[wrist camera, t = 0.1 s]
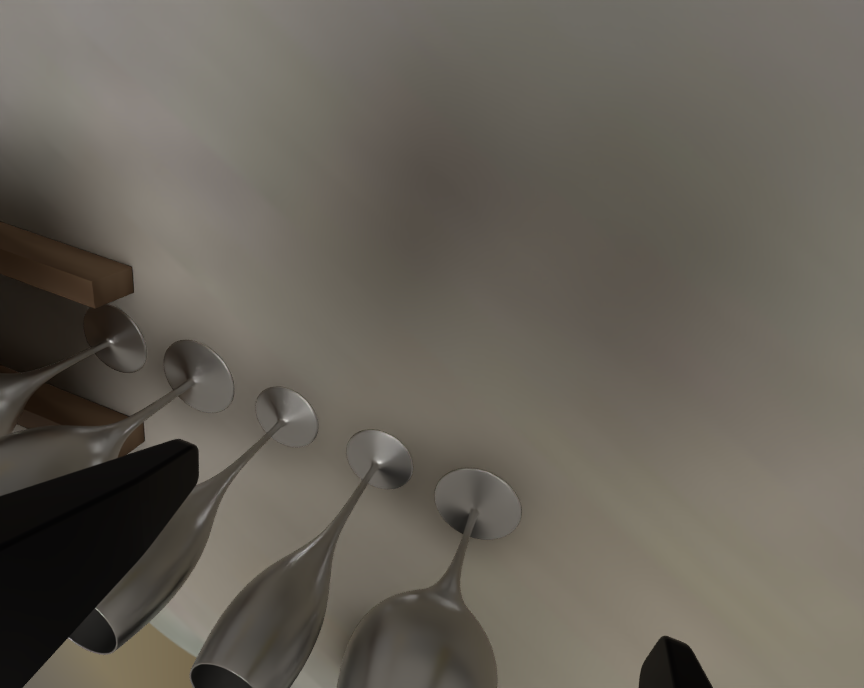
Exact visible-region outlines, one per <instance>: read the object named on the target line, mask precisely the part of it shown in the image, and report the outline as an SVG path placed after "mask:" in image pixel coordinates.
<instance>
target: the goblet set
mask: <svg viewBox="0 0 864 688" xmlns="http://www.w3.org/2000/svg"><path fill="white" fill-rule="evenodd" d="M83 325H84V332H85V336H86V339H87V341H88V343H89V345H90V348H88V349H86V350H84V351H82V352H80V353H77V354H75V355H73V356H71V357H68V358H66V359H64V360H61V361H59V362H56V363H54V364H51V365H48V366H45V367H42V368H39V369H35V370H32V371H27V372H22V373H0V496H2V495H5V494H8V493H11V492H14V491H17V490H20V489H23V488H26V487H29V486H33V485H36V484H39V483H42V482H45V481H48V480H51V479H54V478H57V477H60V476H63V475H66V474H69V473H73V472H76V471H79V470H82V469H85V468H88V467H91V466H94V465H97V464H100V463H103V462H106V461H109V460H113V459H116V458H118V455H119V452H120V449H121V447H122V445H123V443H124V442H125V440H126V439H127V437H128V436H129V435H130V434H131V433H132V432H133V431H134V430H135V429H136V428H137V427H138V426H139V425H140V424H142V423H143V422H144V421H145V420H147V419H148V418H149V417H150V416H152V415H153V414H154V413H156V412H157V411H158V410H160V409H161V408H162V407H164V406H165V405H166V404H168V403H169V402H171V401H172V400H173V399H175V398H176V397H178V396H179V397H180V398H181V399H182V400H183V401H184V402H185V403H186V404H188V405H189V406H191V407H193V408H195V409H197V410H199V411H202V412H206V413H217V412H221V411H223V410H225V409H226V408H227V407H228V406H229V405H230V404H231V402H232V400H233V397H234V382H233V378H232V375H231V373H230V371H229V369H228V367H227V366H226V364H225V363H224V361H223V360H222V359H221V358H220V356H219V355H218V354H217V353H215V352H214V351H213V350H212V349H210V348H209V347H207V346H206V345H204V344H202V343H199V342H197V341H193V340H180V341H177V342H175V343H173V344H172V345H171V346H170V347H169V348H168V349H167V351H166V353H165V356H164V371H165V374H166V377H167V380H168V382H169V384H170V386H171V387H172V389H173V391H171V392H170V393H168V394H166V395H165V396H163V397H162V398H160V399H159V400H157V401H156V402H154V403H152V404H151V405H149V406H147V407H146V408H144V409H143V410H141V411H139V412H137V413H136V414H134V415H132V416H130V417H128V418H126V419H124V420H121V421H119V422H116V423H113V424H109V425H103V426H69V425H55V426H42V427H36V428H30V429H26V430H21V431H17V432H14V433H12V431H13V429H14V428H15V426H16V424H17V422H18V420H19V418H20V415H21V413H22V411H23V409H24V407H25V405H26V403H27V402H28V400H29V398H30V397H31V396H32V395H33V393H34V392H35V391H36V390H37V389H38V388H39V387H40V386H42V385H43V384H44V383H45V382H47V381H48V380H49V379H51V378H52V377H54V376H55V375H57V374H58V373H60V372H62V371H63V370H65V369H67V368H68V367H70V366H72V365H74V364H75V363H77V362H79V361H81V360H83V359H85V358H86V357H88V356H90V355H92V354H94V353H95V354H96V355H97V356H98V358H99V359H100V360H102V361H103V362H104V363H105V364H106V365H108V366H109V367H111V368H113V369H114V370H117V371H120V372H124V373H133V372H136V371H138V370H140V369H141V368H142V367H143V366H144V364H145V362H146V358H147V347H146V343H145V340H144V337H143V335H142V333H141V331H140V329H139V328H138V326H137V325H136V324H135V322H134V321H133V320H132V319H131V318H130V317H129V316H128V315H127V314H126V313H124V312H123V311H122V310H120V309H118V308H117V307H114V306H112V305H109V304H105V305H103V306H100V307H98V308H92V307H90V308H89V309H88V310H87V312H86V314H85V317H84V323H83ZM256 415H257V418H258V421H259V423H260V425H261V426H262V428H263V429H264V430H265V432H266V434H265V435H264V436H263V437H262V438H261V439H260V440H259V441H258V442H257V443H256V444H254V445H253V446H252V447H251V448H250V449H249V450H248V451H247V452H246V453H245V454H243V455H242V456H241V457H240V458H239V459H238V460H236V461H235V462H234V463H233V464H231V465H230V466H229V467H227V468H226V469H225V470H223V471H222V472H220V473H219V474H217V475H216V476H214V477H212V478H211V479H209V480H207V481H205V482H202V483H200V484H198V485H196V486H195V487H194V489H193V490H192V492H191V493H190V494H189V496H188V497H187V498H186V500H185V501H184V502H183V504H182V505H181V506H180V508H179V509H178V510H177V512H176V513H175V514H174V516H173V517H172V518H171V520H170V521H169V522H168V524H167V525H166V526H165V528H164V529H163V530H162V532H161V533H160V534H159V536H158V537H157V538H156V540H155V541H154V542H153V544H152V545H151V546H150V547H149V549H148V550H147V551H146V552H145V554H144V555H143V556H142V557H141V558H140V559H139V561H138V562H137V563H136V564H135V565H134V566H133V567H132V568H131V569H130V571H129V572H128V573H127V574H126V575H125V576H124V577H123V578H122V579H121V580H120V581H119V583H118V584H117V585H116V586H115V587H114V588H113V589H112V590H111V591H110V592H109V593H108V595H107V596H106V597H105V598H104V599H103V600H102V601H101V602H100V603H99V604H98V606H97V607H96V608H95V609H94V610H93V611H92V612H91V613H90V614H89V615H88V616H87V618H86V619H85V620H84V621H83V622H82V623H81V624H80V625H79V626H78V627H77V628H76V630H75V631H74V632H73V633H72V634H71V635H70V636H69V637H68V639H70V640H71V641H72V642H74V643H75V644H77V645H78V646H80V647H82V648H84V649H86V650H88V651H90V652H93V653H97V654H104V655H106V654H111V653H113V652H114V651H116V650H117V649H118V648H119V647H121V646H122V645H123V644H124V643H125V642H127V641H128V640H129V639H130V638H131V637H133V636H134V635H135V634H136V633H137V632H139V631H140V630H141V629H142V628H143V627H144V626H145V625H147V624H148V623H149V622H150V621H151V620H152V619H153V618H154V617H155V616H156V615H157V614H158V613H159V612H160V611H161V610H162V609H163V608H164V607H165V606H166V605H167V604H168V603H169V601H170V600H171V599H172V598H173V597H174V596H175V594H176V593H177V592H178V591H179V589H180V588H181V587H182V585H183V584H184V583H185V581H186V580H187V578H188V577H189V575H190V574H191V572H192V571H193V569H194V568H195V566H196V564H197V562H198V561H199V559H200V557H201V555H202V553H203V550H204V548H205V546H206V543H207V541H208V538H209V535H210V532H211V528H212V525H213V522H214V518H215V515H216V512H217V509H218V507H219V504H220V502H221V500H222V498H223V495H224V493H225V492H226V490H227V488H228V487H229V485H230V484H231V482H232V481H233V479H234V478H235V477H236V475H237V474H238V473H239V472H240V470H241V469H242V468H243V467H244V466H245V464H246V463H247V462H248V461H249V460H250V459H251V458H252V457H253V455H254V454H255V453H256V452H257V451H258V450H259V449H260V448H261V447H262V446H263V445H264V444H265V443H266V442H267V441H268V440H269V439H270V438H271V437H272V438H273V439H274V440H276V441H277V442H279V443H281V444H283V445H286V446H289V447H304V446H306V445H308V444H310V443H311V442H313V440H314V439H315V438H316V436H317V433H318V419H317V416H316V413H315V411H314V409H313V408H312V406H311V405H310V404H309V402H308V401H307V400H306V399H305V398H304V397H303V396H301V395H300V394H299V393H297V392H295V391H293V390H291V389H289V388H285V387H279V386H275V387H270V388H267V389H265V390H264V391H262V392H261V393H260V395H259V396H258V398H257V401H256ZM346 453H347V459H348V462H349V464H350V466H351V468H352V470H353V471H354V472H355V473H356V475H357V476H358V477H359V478H361V479H362V481H361V483H360V484H359V486H358V487H357V489H356V490H355V491H354V493H353V494H352V496H351V497H350V498H349V500H348V501H347V503H346V504H345V505H344V507H343V508H342V509H341V511H340V512H339V514H338V515H337V516H336V517H335V519H334V520H333V521H332V522H331V523H330V524H329V526H328V527H327V528H326V529H325V530H324V531H323V532H322V533H321V534H320V535H318V536H317V537H316V538H315V539H313V540H312V541H310V542H309V543H307V544H306V545H304V546H303V547H301V548H299V549H298V550H296V551H294V552H293V553H291V554H289V555H287V556H286V557H284V558H282V559H280V560H279V561H277V562H275V563H274V564H272V565H271V566H269V567H268V568H266V569H265V570H264V571H262V572H261V573H260V574H259V575H257V576H256V577H255V578H254V579H253V580H252V581H251V582H249V583H248V584H247V585H246V586H245V587H244V588H243V590H242V591H241V592H240V593H239V594H238V595H237V596H236V597H235V599H234V600H233V601H232V602H231V603H230V605H229V606H228V607H227V609H226V610H225V611H224V613H223V614H222V615H221V617H220V618H219V620H218V621H217V623H216V624H215V626H214V628H213V629H212V631H211V633H210V634H209V636H208V638H207V640H206V642H205V643H204V645H203V647H202V649H201V651H200V653H199V655H198V657H197V658H196V661H195V662H194V664H193V666H192V668H191V671H190V681H191V684H192V686H193V688H290V687H291V685H292V684H293V682H294V681H295V679H296V678H297V676H298V675H299V673H300V671H301V670H302V668H303V666H304V665H305V663H306V661H307V659H308V657H309V655H310V653H311V651H312V649H313V647H314V645H315V643H316V640H317V638H318V635H319V633H320V630H321V627H322V624H323V620H324V616H325V612H326V607H327V601H328V594H329V585H330V576H331V567H332V560H333V554H334V550H335V546H336V543H337V540H338V537H339V535H340V533H341V531H342V528H343V526H344V524H345V522H346V521H347V519H348V517H349V515H350V513H351V511H352V510H353V508H354V506H355V505H356V503H357V501H358V499H359V498H360V496H361V494H362V493H363V491H364V489H365V488H366V486H367V484H370V485H372V486H374V487H377V488H381V489H396V488H399V487H401V486H403V485H405V484H406V483H407V482H408V481H409V479H410V478H411V476H412V473H413V461H412V458H411V455H410V453H409V451H408V450H407V448H406V447H405V446H404V445H403V444H402V443H401V442H400V441H399V440H398V439H397V438H395V437H394V436H392V435H391V434H389V433H386V432H384V431H380V430H374V429H368V430H362V431H360V432H357V433H356V434H354V435H353V436H352V437H351V439H350V440H349V442H348V444H347V450H346ZM435 503H436V506H437V509H438V511H439V513H440V515H441V516H442V517H443V519H444V520H445V521H446V522H447V523H448V524H449V525H450V526H451V527H453V528H454V529H455V530H457V531H459V532H460V533H462V534H463V536H462V539H461V542H460V544H459V547H458V549H457V552H456V554H455V556H454V558H453V560H452V562H451V565H450V566H449V568H448V570H447V571H446V573H445V574H444V575H443V577H442V578H441V579H440V580H439V581H438V582H437V583H436V584H434V585H433V586H431V587H429V588H425V589H419V590H412V591H407V592H403V593H400V594H396V595H394V596H392V597H389V598H387V599H385V600H383V601H382V602H380V603H379V604H378V605H376V606H375V607H374V608H372V609H371V610H370V611H369V612H368V613H367V614H366V615H365V617H364V618H363V619H362V620H361V621H360V623H359V624H358V626H357V627H356V629H355V630H354V632H353V634H352V636H351V638H350V640H349V643H348V645H347V648H346V650H345V653H344V657H343V660H342V664H341V668H340V673H339V678H338V683H337V688H497V683H498V677H497V665H496V661H495V656H494V652H493V649H492V646H491V644H490V642H489V639H488V637H487V635H486V633H485V631H484V630H483V628H482V626H481V625H480V623H479V622H478V620H477V619H476V618H475V616H474V615H473V614H472V613H471V611H470V610H469V609H468V607H467V606H466V604H465V603H464V601H463V598H462V595H461V588H460V578H461V569H462V564H463V560H464V556H465V552H466V548H467V545H468V542H469V539H470V537H473V538H477V539H484V540H491V539H498V538H502V537H504V536H506V535H508V534H510V533H511V532H512V531H513V530H514V529H515V528H516V527H517V526H518V524H519V522H520V519H521V514H522V509H521V504H520V501H519V498H518V496H517V494H516V493H515V491H514V490H513V489H512V487H511V486H510V485H509V484H508V483H507V482H505V481H504V480H503V479H501V478H500V477H498V476H497V475H495V474H493V473H490V472H488V471H485V470H481V469H476V468H461V469H456V470H453V471H451V472H449V473H447V474H446V475H444V476H443V477H442V478H441V479H440V481H439V482H438V484H437V486H436V489H435Z"/></svg>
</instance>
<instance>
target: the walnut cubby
mask: <svg viewBox="0 0 864 688" xmlns="http://www.w3.org/2000/svg"><path fill="white" fill-rule="evenodd" d="M0 274H2V275H5V276H7V277H10V278H13V279H16V280H18V281H21V282H24V283H26V284H29V285H32V286H35V287H37V288H40V289H43V290H46V291H48V292H51V293H54V294H56V295H59V296H62V297H65V298H67V299H70V300H73V301H75V302H78V303H81V304H84V305H86V306H89V307H92V308H98V307H100V306H103V305H105V304H107V303H110V302H112V301H115V300H117V299H119V298H122V297H124V296H127V295H129V294H131V293H134V290H133V277H132V267H130V266H127V265H124V264H122V263H119V262H116V261H113V260H110V259H107V258H104V257H101V256H98V255H96V254H93V253H90V252H87V251H84V250H81V249H78V248H75V247H72V246H69V245H67V244H64V243H61V242H58V241H55V240H52V239H49V238H46V237H43V236H41V235H38V234H35V233H32V232H29V231H26V230H23V229H20V228H17V227H14V226H12V225H9V224H6V223H3V222H0ZM0 373H19V372H17V371H14V370H12V369H9V368H7V367H5V366H2V365H0ZM126 418H128V416H125V415H123V414H121V413H118V412H116V411H113V410H111V409H108V408H106V407H103V406H101V405H98V404H96V403H93V402H91V401H88V400H86V399H84V398H81V397H79V396H76V395H74V394H71V393H69V392H66V391H64V390H61V389H59V388H56V387H54V386H51V385H49V384H47V383H44V384H43V385H42V386H40V387H39V388H38V389H37V390H36V391H35V392H34V393H33V395H32V396H31V397H30V398H29V400H28V402H27V403H26V405H25V407H24V409H23V411H22V413H21V415H20V418H19V420H18V422H17V424H18V425H20V426H23V427H25V428H27V429H30V428H36V427H42V426H55V425H69V426H103V425H109V424H113V423H116V422H119V421H121V420H124V419H126ZM144 441H145V440H144V426H143V423H142V424H140V425H139V426H138V427H137V428H136V429H135V430H134V431H133V432H132V433H131V434H130V435H129V436H128V437H127V439H126V440H125V442H124V443H123V445H122V447H121V449H120V452H119V455H118V458H119V457H122V456H125V455H127V454H128V453H129V452H131V451H132V450H133V449H135V448H136V447H137V446H139V445H140V444H141V443H143V442H144Z"/></svg>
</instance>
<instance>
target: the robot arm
mask: <svg viewBox="0 0 864 688" xmlns="http://www.w3.org/2000/svg"><path fill="white" fill-rule="evenodd" d="M198 477H199V452H198V448H197V446H196V445H194V444H192V443H189V442H187V441H184V440H181V439H175V440H171V441H168V442H165V443H162V444H159V445H156V446H153V447H149V448H146V449H143V450H140V451H137V452H134V453H131V454H128V455H125V456H122V457H119V458H116V459H113V460H109V461H106V462H103V463H100V464H97V465H94V466H91V467H88V468H85V469H82V470H79V471H76V472H73V473H69V474H66V475H63V476H60V477H57V478H54V479H51V480H48V481H45V482H42V483H39V484H36V485H33V486H29V487H26V488H23V489H20V490H17V491H14V492H11V493H8V494H5V495H2V496H0V688H23V686H24V685H25V684H26V683H27V682H28V681H29V680H30V679H31V678H32V677H33V676H34V674H35V673H36V672H37V671H38V670H39V669H40V668H41V667H42V666H43V664H44V663H45V662H46V661H47V660H48V659H49V658H50V657H51V656H52V655H53V654H54V653H55V651H56V650H57V649H58V648H59V647H60V646H61V645H62V644H63V642H64V641H65V640H66V639H67V638H68V637H69V636H70V635H71V634H72V633H73V632H74V631H75V630H76V628H77V627H78V626H79V625H80V624H81V623H82V622H83V621H84V620H85V619H86V618H87V616H88V615H89V614H90V613H91V612H92V611H93V610H94V609H95V608H96V607H97V606H98V604H99V603H100V602H101V601H102V600H103V599H104V598H105V597H106V596H107V595H108V593H109V592H110V591H111V590H112V589H113V588H114V587H115V586H116V585H117V584H118V583H119V581H120V580H121V579H122V578H123V577H124V576H125V575H126V574H127V573H128V572H129V571H130V569H131V568H132V567H133V566H134V565H135V564H136V563H137V562H138V561H139V559H140V558H141V557H142V556H143V555H144V554H145V552H146V551H147V550H148V549H149V547H150V546H151V545H152V544H153V542H154V541H155V540H156V538H157V537H158V536H159V534H160V533H161V532H162V530H163V529H164V528H165V526H166V525H167V524H168V522H169V521H170V520H171V518H172V517H173V516H174V514H175V513H176V512H177V510H178V509H179V508H180V506H181V505H182V504H183V502H184V501H185V500H186V498H187V497H188V496H189V494H190V493H191V492H192V490H193V489H194V487H195V486H196V484H197V481H198ZM639 688H713V687H712V685H711V683H710V681H709V680H708V678H707V676H706V674H705V672H704V671H703V669H702V667H701V665H700V663H699V661H698V660H697V658H696V656H695V654H694V652H693V651H692V649H691V648H690V647H689V646H688V645H687V644H686V643H683V642H681V641H678V640H676V639H674V638H671V637H669V636H662V637H661V638H660V639H659V640H658V642H657V643H656V645H655V646H654V648H653V649H652V651H651V652H650V654H649V655H648V657H647V658H646V660H645V661H644V663H643V665H642V668H641V672H640V679H639Z"/></svg>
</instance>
